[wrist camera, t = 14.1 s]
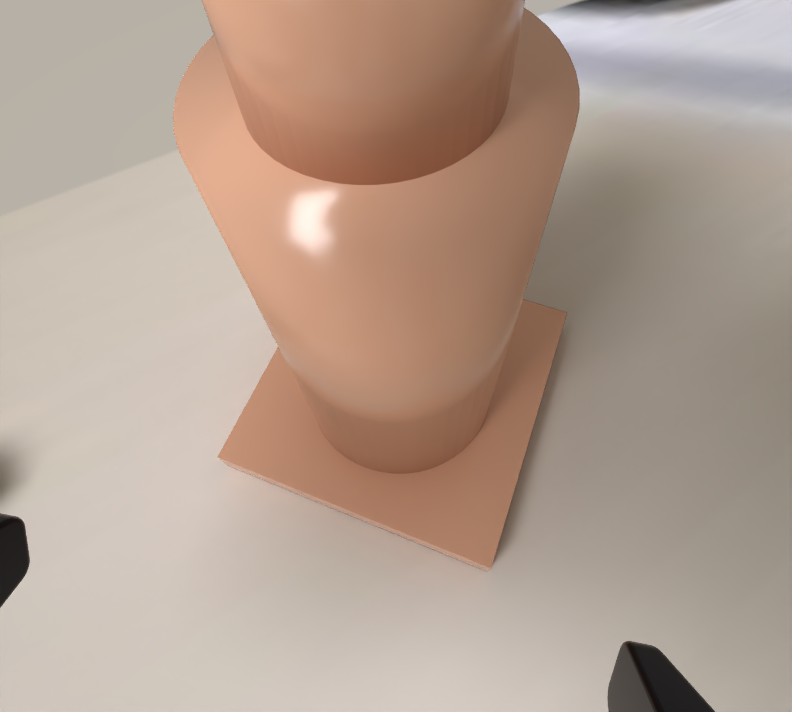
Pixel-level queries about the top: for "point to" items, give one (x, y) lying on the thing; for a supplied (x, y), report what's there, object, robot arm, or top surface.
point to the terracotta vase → (382, 198)
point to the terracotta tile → (413, 492)
